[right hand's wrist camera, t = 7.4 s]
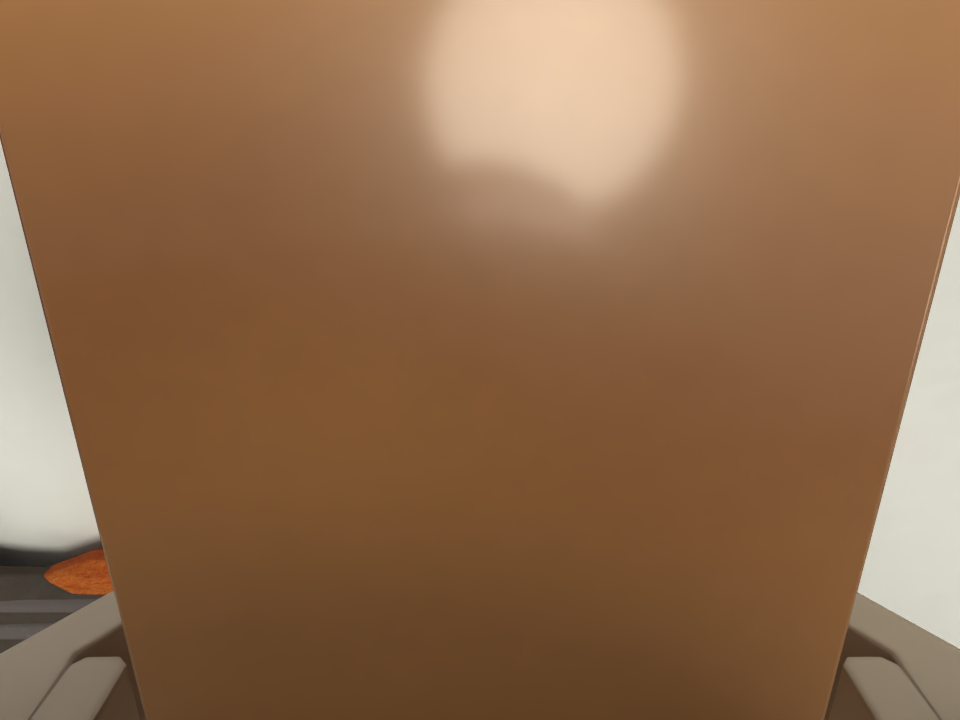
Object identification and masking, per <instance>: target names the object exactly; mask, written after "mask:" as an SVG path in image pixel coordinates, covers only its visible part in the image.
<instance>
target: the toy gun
mask: <svg viewBox="0 0 960 720" xmlns="http://www.w3.org/2000/svg"><path fill="white" fill-rule="evenodd" d="M112 591H114V590H113V586H112V582H111V578H110V574H109V570H108V566H107V562H106V558H105V554H104V550H103V549H97V550H92V551H89V552H87V553H84V554H81V555H78V556H75V557H73V558H70V559H67V560H64V561H62V562H59V563H56V564H54V565H52V566H47V567H33V566H1V565H0V654H1V653H2V652H4V651H6V650H8V649H10V648H11V647H13V646H15V645H17V644H19V643H20V642H22V641H24V640H26V639H28V638H29V637H31V636H33V635H35V634H36V633H38V632H40V631H42V630H44V629H45V628H47V627H49V626H51V625H53V624H54V623H56V622H58V621H60V620H62V619H63V618H65V617H67V616H69V615H71V614H72V613H74V612H76V611H78V610H80V609H81V608H83V607H85V606H87V605H88V604H90V603H92V602H94V601H96V600H97V599H99V598H101V597H103V596H105V595H106V594H108V593H110V592H112Z"/></svg>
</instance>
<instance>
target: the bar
mask: <svg viewBox="0 0 960 720" xmlns="http://www.w3.org/2000/svg"><path fill="white" fill-rule="evenodd" d="M0 140H1V144H2V148H3V152H4V156H5V160H6V164H7V168H8V172H9V176H10V180H11V184H12V188H13V191H14V195H15V199H16V203H17V207H18V211H19V215H20V219H21V223H22V227H23V231H24V235H25V239H26V243H27V247H28V251H29V255H30V259H31V263H32V267H33V271H34V275H35V279H36V283H37V287H38V291H39V295H40V299H41V303H42V307H43V311H44V315H45V319H46V323H47V327H48V331H49V335H50V339H51V343H52V347H53V351H54V355H55V359H56V363H57V367H58V371H59V375H60V379H61V383H62V387H63V391H64V395H65V399H66V403H67V407H68V411H69V415H70V419H71V423H72V427H73V431H74V435H75V439H76V443H77V447H78V451H79V455H80V459H81V463H82V467H83V471H84V475H85V479H86V483H87V487H88V491H89V495H90V499H91V502H92V506H93V510H94V514H95V518H96V522H97V526H98V530H99V534H100V538H101V542H102V546H103V550H104V554H105V558H106V562H107V566H108V570H109V574H110V578H111V582H112V586H113V590H114V594H115V598H116V602H117V606H118V610H119V614H120V618H121V622H122V626H123V630H124V634H125V638H126V642H127V646H128V650H129V654H130V658H131V662H132V666H133V670H134V674H135V678H136V682H137V686H138V690H139V694H140V698H141V702H142V706H143V710H144V714H145V718H146V720H824V718H825V714H826V710H827V706H828V702H829V698H830V694H831V691H832V687H833V683H834V679H835V675H836V671H837V667H838V664H839V660H840V656H841V652H842V648H843V644H844V640H845V637H846V633H847V629H848V625H849V621H850V617H851V613H852V609H853V606H854V602H855V598H856V594H857V590H858V586H859V582H860V579H861V575H862V571H863V567H864V563H865V559H866V555H867V552H868V548H869V544H870V540H871V536H872V532H873V528H874V525H875V521H876V517H877V513H878V509H879V505H880V501H881V497H882V494H883V490H884V486H885V482H886V478H887V474H888V470H889V467H890V463H891V459H892V455H893V451H894V447H895V443H896V440H897V436H898V432H899V428H900V424H901V420H902V416H903V413H904V409H905V405H906V401H907V397H908V393H909V389H910V385H911V382H912V378H913V374H914V370H915V366H916V362H917V358H918V355H919V351H920V347H921V343H922V339H923V335H924V331H925V328H926V324H927V320H928V316H929V312H930V308H931V304H932V301H933V297H934V293H935V289H936V285H937V281H938V277H939V273H940V270H941V266H942V262H943V258H944V254H945V250H946V246H947V243H948V239H949V235H950V231H951V227H952V223H953V219H954V216H955V212H956V208H957V204H958V200H959V196H960V0H0Z"/></svg>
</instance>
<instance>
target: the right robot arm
mask: <svg viewBox="0 0 960 720" xmlns="http://www.w3.org/2000/svg"><path fill="white" fill-rule="evenodd" d="M0 720H146V718H145V714H144V710H143V706H142V702H141V698H140V694H139V690H138V686H137V682H136V678H135V674H134V670H133V666H132V662H131V658H130V654H129V650H128V646H127V642H126V638H125V634H124V630H123V626H122V622H121V618H120V614H119V610H118V606H117V602H116V598H115V594H114V591H112V592H110V593H108V594H106V595H105V596H103V597H101V598H99V599H97V600H96V601H94V602H92V603H90V604H88V605H87V606H85V607H83V608H81V609H80V610H78V611H76V612H74V613H72V614H71V615H69V616H67V617H65V618H63V619H62V620H60V621H58V622H56V623H54V624H53V625H51V626H49V627H47V628H45V629H44V630H42V631H40V632H38V633H36V634H35V635H33V636H31V637H29V638H28V639H26V640H24V641H22V642H20V643H19V644H17V645H15V646H13V647H11V648H10V649H8V650H6V651H4V652H2V653H1V654H0ZM824 720H960V649H958V648H957V647H955V646H953V645H951V644H949V643H948V642H946V641H944V640H942V639H940V638H939V637H937V636H935V635H933V634H931V633H930V632H928V631H926V630H924V629H922V628H921V627H919V626H917V625H915V624H913V623H912V622H910V621H908V620H906V619H904V618H903V617H901V616H899V615H897V614H895V613H893V612H892V611H890V610H888V609H886V608H884V607H883V606H881V605H879V604H877V603H875V602H874V601H872V600H870V599H868V598H866V597H865V596H863V595H861V594H859V593H857V594H856V598H855V602H854V606H853V609H852V613H851V617H850V621H849V625H848V629H847V633H846V637H845V640H844V644H843V648H842V652H841V656H840V660H839V664H838V667H837V671H836V675H835V679H834V683H833V687H832V691H831V694H830V698H829V702H828V706H827V710H826V714H825V718H824Z"/></svg>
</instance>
